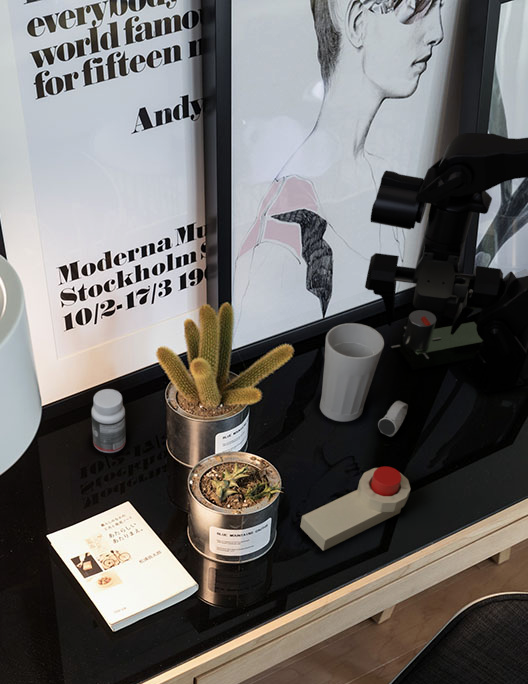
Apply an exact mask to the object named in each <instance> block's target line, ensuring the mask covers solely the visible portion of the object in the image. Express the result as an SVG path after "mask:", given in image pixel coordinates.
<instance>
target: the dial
mask: <svg viewBox="0 0 528 684" xmlns="http://www.w3.org/2000/svg"><path fill="white" fill-rule="evenodd" d="M436 323H437V317H436V315H435V314H434V313H432V312H431V311H429V310H425V309H418V310H413V311H412V312H411V313H410V314H409V315H408V320H407V324H406V326H405V327H406V330H405V331H404V334H403V335H404V339H403V343H404V345H405V346H406V347H407V348H409V349H411V350H415V351H422V350H425V349H427V348H428V347H429V345H430V341H431V338H432V334H433V331H434V329H435V327H436Z"/></svg>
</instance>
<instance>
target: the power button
mask: <svg viewBox="0 0 528 684" xmlns="http://www.w3.org/2000/svg"><path fill="white" fill-rule="evenodd" d="M377 468H378V469H376V470H375V471H374V474H373V478H372V482H371V488H372V490H373V491H374V492H375V493H376V494H378V495H381V496H392V495H394V494H395V495H396V494H398V492H397V491H398V489H399V485H400V482H401V474H402V473H401V472H400V471H399V470H397V469H396V468H394V467H391V466H380V467H377ZM399 472H400V473H401V474H400V473H399Z"/></svg>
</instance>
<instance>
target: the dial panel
mask: <svg viewBox="0 0 528 684" xmlns="http://www.w3.org/2000/svg"><path fill="white" fill-rule="evenodd" d="M406 327H407V326H403V329H404V330H405V331H406ZM451 328H452V325H449V326H443V327H438V328H434V331H433V334H432V338H431V341H430V345H429V347H428V348H427V349H425V350H422V351H415V350H411V349H409V348H407V347H406V346H405V345H404V343H403V339H404V335H405V334H403V335H402V338H401V343H400V344H396V345H391V346H390V348H391V349H396V348H397V349H398V348H399V349H398V350H399V351H398V352H399V353H400V354H401V355H402V356H403V358H404V359H405V361H406V362H407V363H408V365H409V366H410V368H411V370H412V371H414V370H415V371H416V370H420V369H425V368H431V367H435V366H440V365H446V364H450V363H456V362H462V361H468V360H474V357H475V354H476V352H477V351H479V349H480V346H481V343H482V341H483V340H482V339H481V338H480V337H479V335H478V333H477V330H476V329H477V323H476V322H475V321H470V322H465V323H464V322H463V323H462V324H461V325H460V327H459V328H458V329H457V330H456V332H455V333H454V334H453V335H451Z"/></svg>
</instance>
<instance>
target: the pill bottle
mask: <svg viewBox="0 0 528 684" xmlns="http://www.w3.org/2000/svg"><path fill="white" fill-rule="evenodd" d="M123 402H124V401H123V395H122V394H121V393H120V391H118V390H116V389H113V388H105V389H100V390H99V391H97V392H96V393H95V394H94V395H93V405H92V407H91V412H90V413H91V429H92V431H91V432H92V443H93V446H94V447H95V449H97V450H98V451H99V452H102V453H106V454H114V453H117V452H119V451H121V450H122V449H123V448H124V447H125V445H126V443H127V440H126V439H127V437H126V435H127V434H126V409H125V406H124V403H123Z"/></svg>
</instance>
